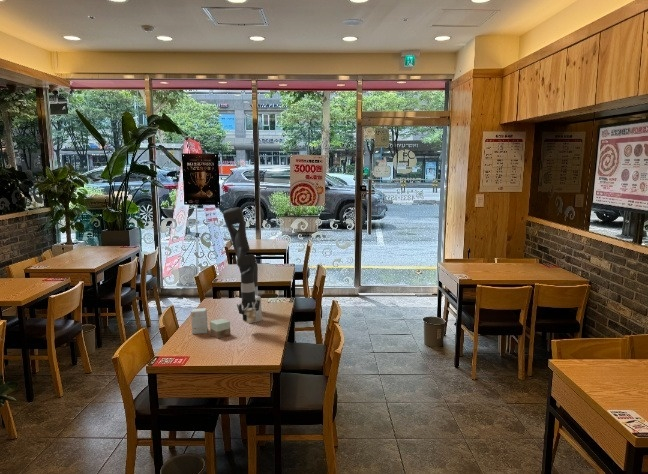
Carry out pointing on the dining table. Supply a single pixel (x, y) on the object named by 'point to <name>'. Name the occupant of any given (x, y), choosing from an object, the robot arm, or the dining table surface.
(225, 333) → the walnut slab
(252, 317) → the maple block
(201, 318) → the small box
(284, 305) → the dining table surface
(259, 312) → the supplement box
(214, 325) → the sage slab
